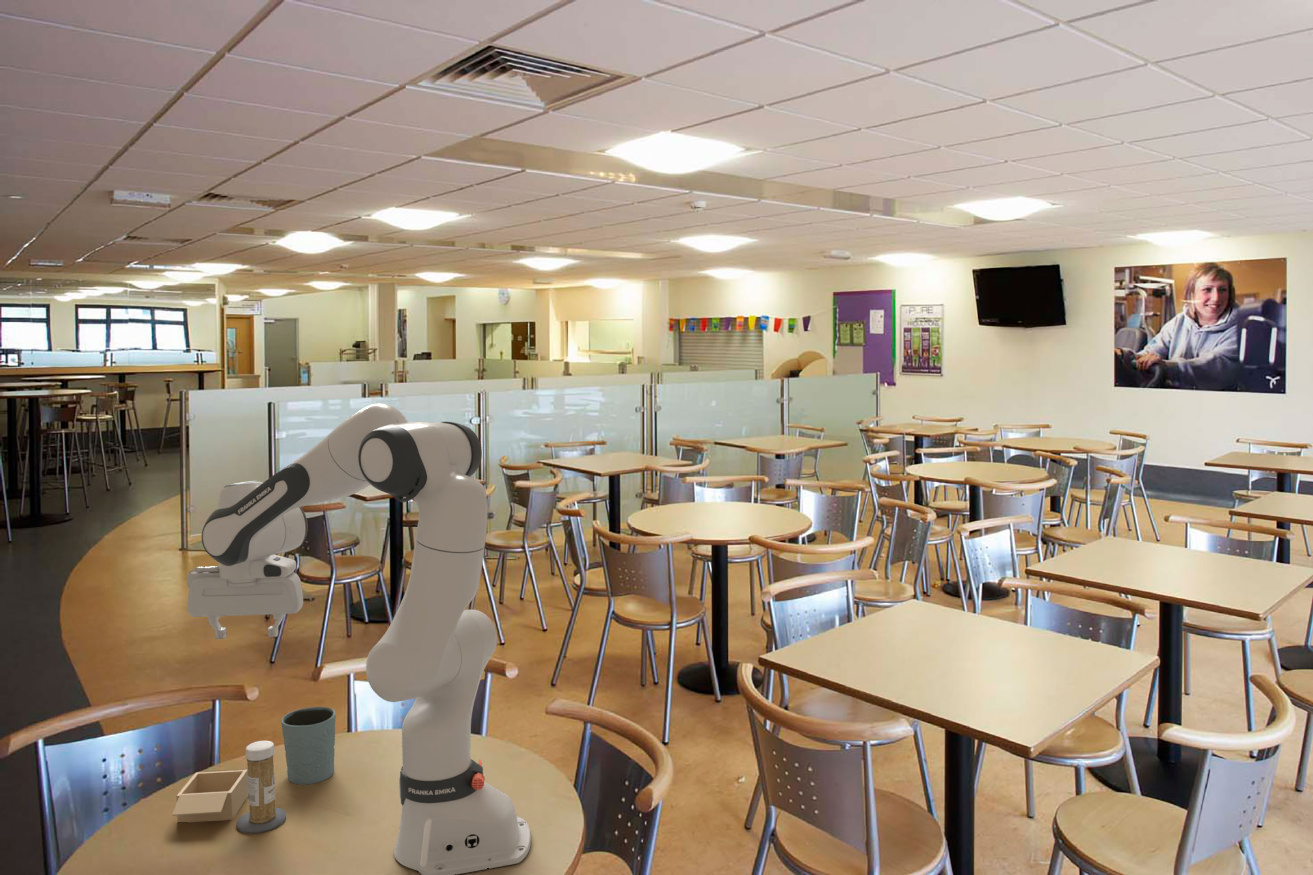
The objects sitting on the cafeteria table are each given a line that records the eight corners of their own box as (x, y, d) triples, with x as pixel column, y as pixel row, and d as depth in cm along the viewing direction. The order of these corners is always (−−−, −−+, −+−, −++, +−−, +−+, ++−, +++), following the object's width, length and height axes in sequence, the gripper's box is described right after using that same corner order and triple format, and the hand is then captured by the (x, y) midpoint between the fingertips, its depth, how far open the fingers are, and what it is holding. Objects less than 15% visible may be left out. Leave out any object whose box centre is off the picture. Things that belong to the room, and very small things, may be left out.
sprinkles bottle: (278, 819, 157) (276, 746, 156) (251, 827, 155) (248, 752, 154) (273, 809, 161) (271, 737, 160) (246, 816, 158) (243, 743, 157)
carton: (254, 785, 171) (253, 760, 171) (225, 830, 155) (224, 801, 154) (204, 788, 170) (203, 762, 170) (169, 833, 154) (167, 805, 153)
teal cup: (305, 790, 169) (304, 729, 168) (271, 778, 174) (269, 719, 173) (348, 770, 178) (346, 711, 177) (314, 758, 183) (312, 702, 182)
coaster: (291, 808, 162) (291, 805, 162) (279, 831, 154) (278, 828, 154) (245, 811, 161) (245, 808, 161) (230, 834, 153) (230, 831, 153)
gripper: (180, 571, 164) (182, 644, 165) (295, 568, 167) (297, 640, 168) (193, 563, 170) (195, 634, 171) (304, 560, 173) (306, 630, 174)
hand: (247, 637), depth 169 cm, fingers open, 8 cm apart
